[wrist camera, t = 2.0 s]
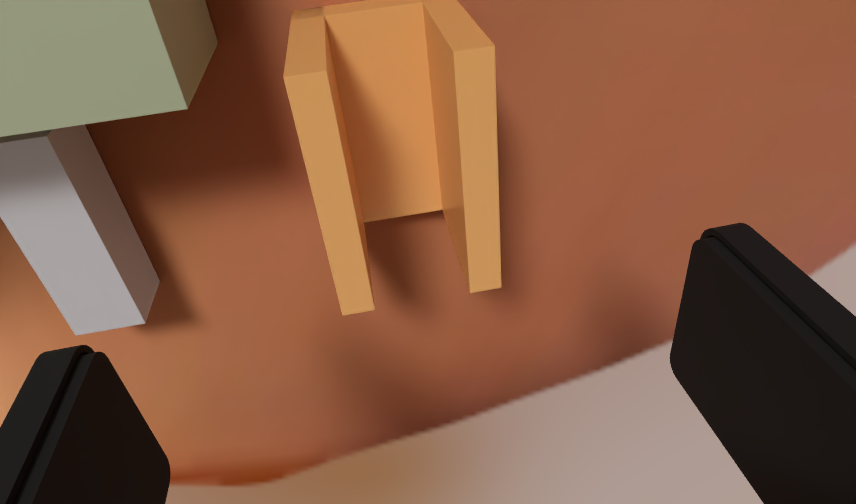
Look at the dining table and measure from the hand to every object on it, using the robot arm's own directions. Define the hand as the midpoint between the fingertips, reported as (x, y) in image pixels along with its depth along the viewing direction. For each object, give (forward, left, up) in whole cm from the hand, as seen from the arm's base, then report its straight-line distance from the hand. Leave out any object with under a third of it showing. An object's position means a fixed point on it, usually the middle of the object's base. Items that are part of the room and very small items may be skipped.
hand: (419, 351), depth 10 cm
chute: (0, 0, -9) cm, 9 cm away
